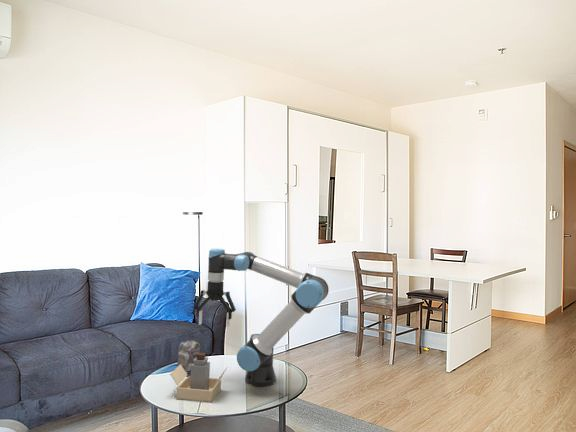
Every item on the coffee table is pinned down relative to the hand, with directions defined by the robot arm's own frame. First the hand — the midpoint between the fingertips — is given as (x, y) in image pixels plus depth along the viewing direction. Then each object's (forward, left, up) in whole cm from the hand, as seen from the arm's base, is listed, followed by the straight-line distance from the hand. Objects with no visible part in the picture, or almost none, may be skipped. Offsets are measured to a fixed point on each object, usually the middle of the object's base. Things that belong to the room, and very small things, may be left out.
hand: (214, 325), depth 228 cm
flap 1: (+12, +13, -20) cm, 27 cm away
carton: (+2, +13, -29) cm, 32 cm away
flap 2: (-7, +13, -20) cm, 25 cm away
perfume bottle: (+2, +13, -28) cm, 31 cm away
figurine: (+18, -18, -29) cm, 39 cm away
